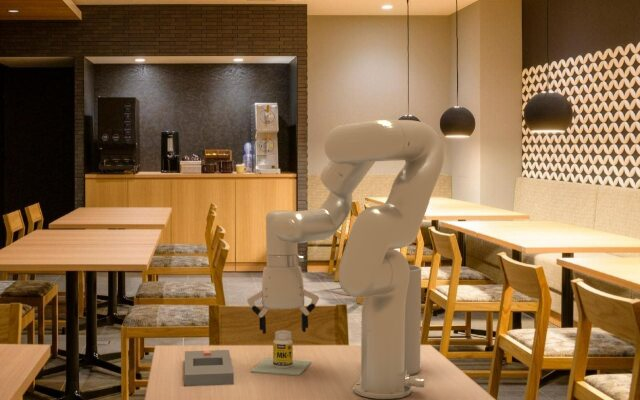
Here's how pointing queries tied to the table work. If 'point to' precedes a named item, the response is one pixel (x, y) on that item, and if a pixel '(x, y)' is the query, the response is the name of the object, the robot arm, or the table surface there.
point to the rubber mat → (268, 368)
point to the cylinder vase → (413, 322)
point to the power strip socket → (208, 368)
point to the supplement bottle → (282, 349)
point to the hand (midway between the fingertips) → (283, 331)
